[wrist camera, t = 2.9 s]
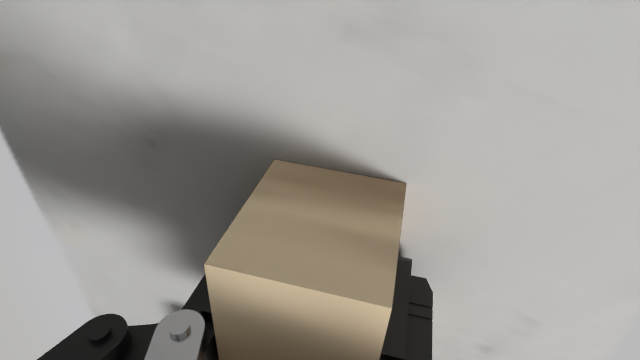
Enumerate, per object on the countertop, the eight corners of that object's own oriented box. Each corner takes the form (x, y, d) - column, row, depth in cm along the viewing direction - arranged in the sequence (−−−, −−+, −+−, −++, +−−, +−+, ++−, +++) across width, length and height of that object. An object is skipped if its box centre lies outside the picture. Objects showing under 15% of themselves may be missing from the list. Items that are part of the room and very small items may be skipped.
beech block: (274, 159, 12) (203, 264, 8) (406, 183, 11) (391, 308, 8) (276, 306, 16) (228, 421, 12) (374, 330, 15) (354, 459, 12)
